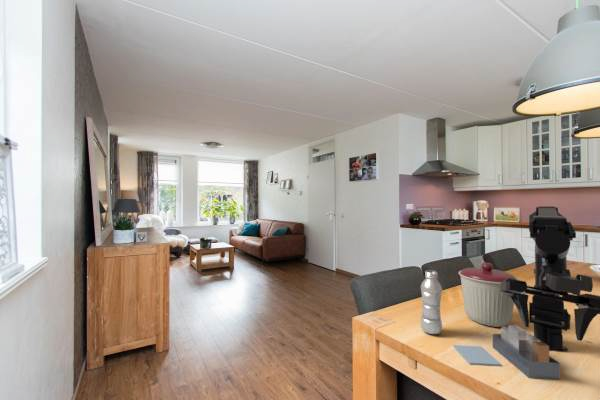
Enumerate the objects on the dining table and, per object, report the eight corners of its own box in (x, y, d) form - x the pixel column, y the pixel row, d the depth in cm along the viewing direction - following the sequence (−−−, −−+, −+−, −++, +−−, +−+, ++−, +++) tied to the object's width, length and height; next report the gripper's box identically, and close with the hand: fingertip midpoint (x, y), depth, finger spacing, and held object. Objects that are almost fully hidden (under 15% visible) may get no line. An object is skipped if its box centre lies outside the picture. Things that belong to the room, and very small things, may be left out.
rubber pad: (453, 346, 81) (453, 345, 81) (481, 347, 80) (481, 346, 80) (469, 364, 72) (469, 362, 72) (501, 365, 71) (501, 364, 71)
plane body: (492, 346, 80) (491, 319, 80) (517, 347, 80) (516, 320, 80) (528, 377, 66) (528, 344, 66) (559, 379, 66) (559, 346, 66)
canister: (514, 317, 101) (514, 261, 102) (524, 337, 86) (524, 271, 86) (458, 307, 111) (458, 256, 111) (458, 324, 95) (458, 264, 95)
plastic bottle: (435, 327, 93) (435, 269, 93) (446, 337, 86) (446, 274, 86) (416, 327, 93) (416, 269, 93) (426, 337, 86) (426, 274, 86)
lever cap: (501, 338, 78) (501, 323, 78) (521, 338, 77) (520, 324, 77) (518, 351, 71) (518, 335, 71) (540, 352, 70) (540, 336, 70)
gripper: (514, 250, 63) (512, 320, 58) (627, 268, 55) (636, 351, 50) (500, 260, 72) (498, 321, 68) (595, 276, 65) (600, 347, 60)
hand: (552, 333), depth 61 cm, fingers open, 9 cm apart
